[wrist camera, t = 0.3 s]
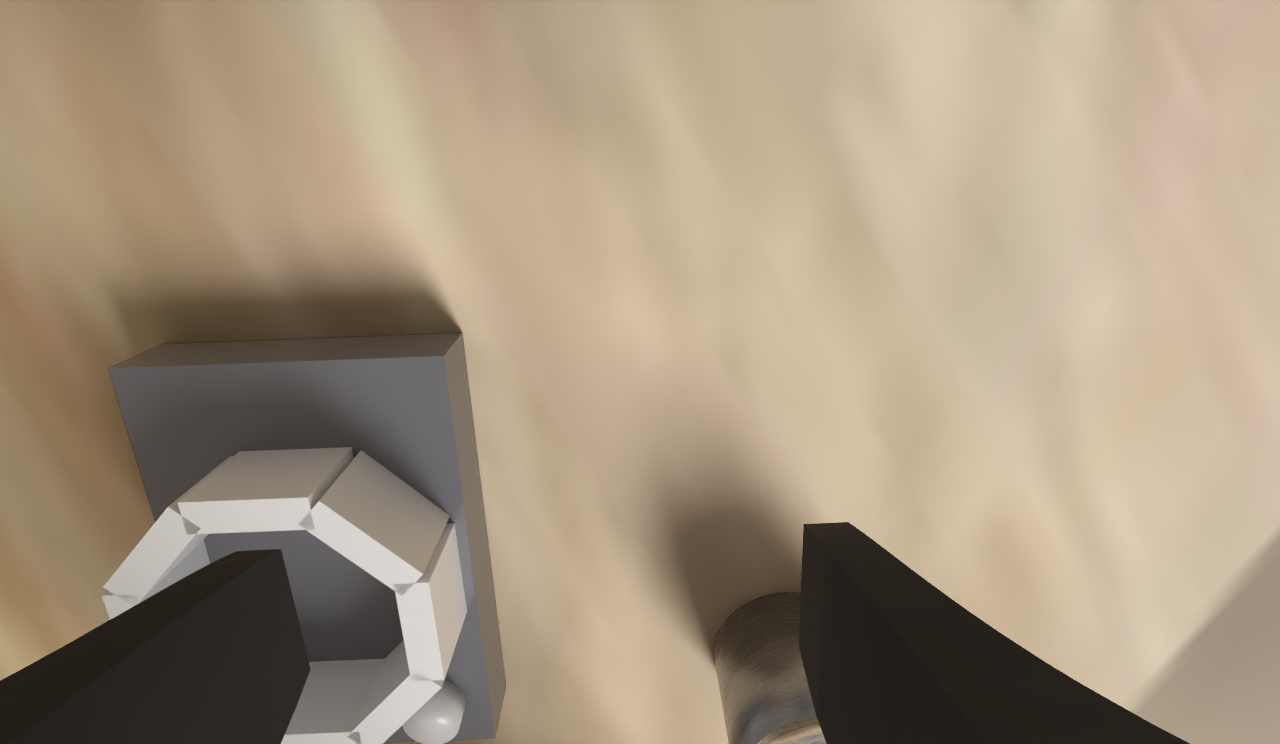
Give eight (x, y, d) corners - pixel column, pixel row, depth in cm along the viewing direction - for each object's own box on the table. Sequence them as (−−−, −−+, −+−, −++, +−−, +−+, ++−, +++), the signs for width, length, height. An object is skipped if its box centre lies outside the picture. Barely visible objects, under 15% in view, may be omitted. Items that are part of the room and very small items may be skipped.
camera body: (506, 686, 22) (478, 817, 18) (259, 696, 22) (173, 830, 18) (462, 332, 18) (413, 393, 14) (162, 343, 18) (20, 408, 14)
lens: (846, 700, 23) (919, 888, 17) (712, 706, 23) (741, 896, 17) (856, 588, 21) (940, 753, 16) (712, 594, 21) (744, 761, 16)
